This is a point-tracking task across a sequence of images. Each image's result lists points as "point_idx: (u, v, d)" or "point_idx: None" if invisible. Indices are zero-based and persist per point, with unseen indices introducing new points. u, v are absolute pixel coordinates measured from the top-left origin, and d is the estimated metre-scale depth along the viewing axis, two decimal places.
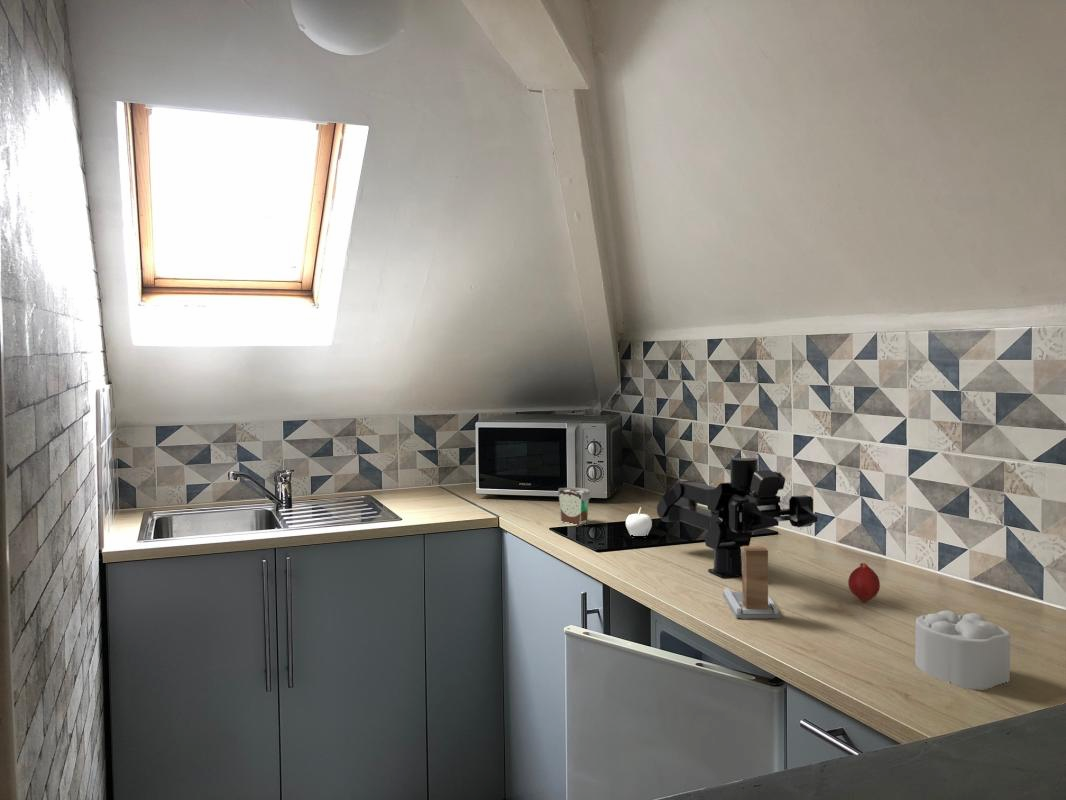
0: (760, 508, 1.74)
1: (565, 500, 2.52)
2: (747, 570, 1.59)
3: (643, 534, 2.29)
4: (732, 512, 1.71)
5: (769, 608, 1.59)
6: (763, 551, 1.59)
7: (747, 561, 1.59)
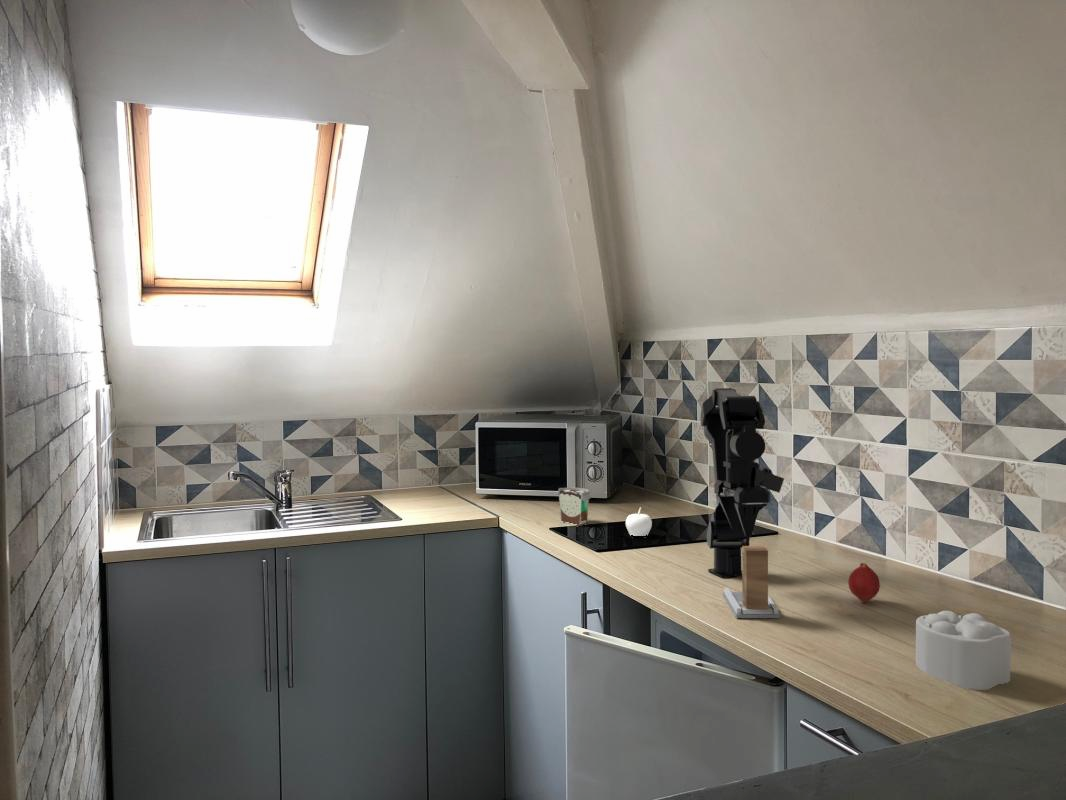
0: None
1: (565, 500, 2.52)
2: (747, 570, 1.59)
3: (643, 534, 2.29)
4: (760, 499, 1.65)
5: (769, 608, 1.59)
6: (763, 551, 1.59)
7: (747, 561, 1.59)
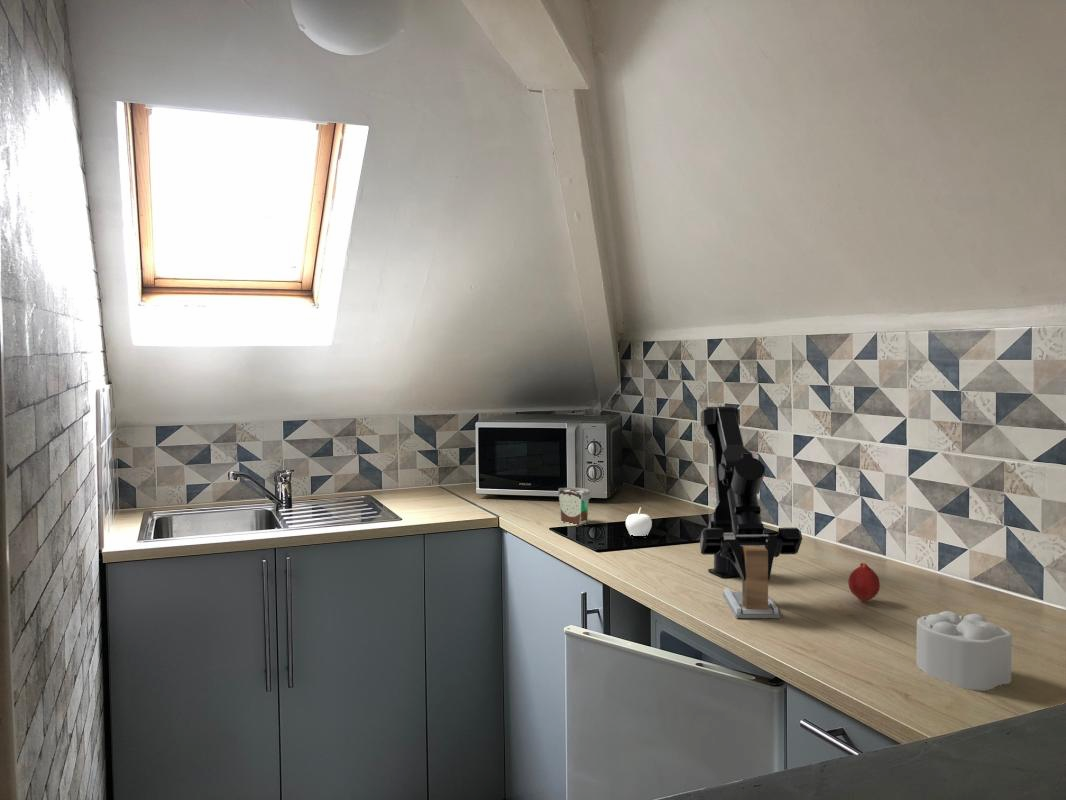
0: None
1: (565, 500, 2.52)
2: (747, 570, 1.59)
3: (643, 534, 2.29)
4: None
5: (769, 608, 1.59)
6: (763, 551, 1.59)
7: (747, 561, 1.59)
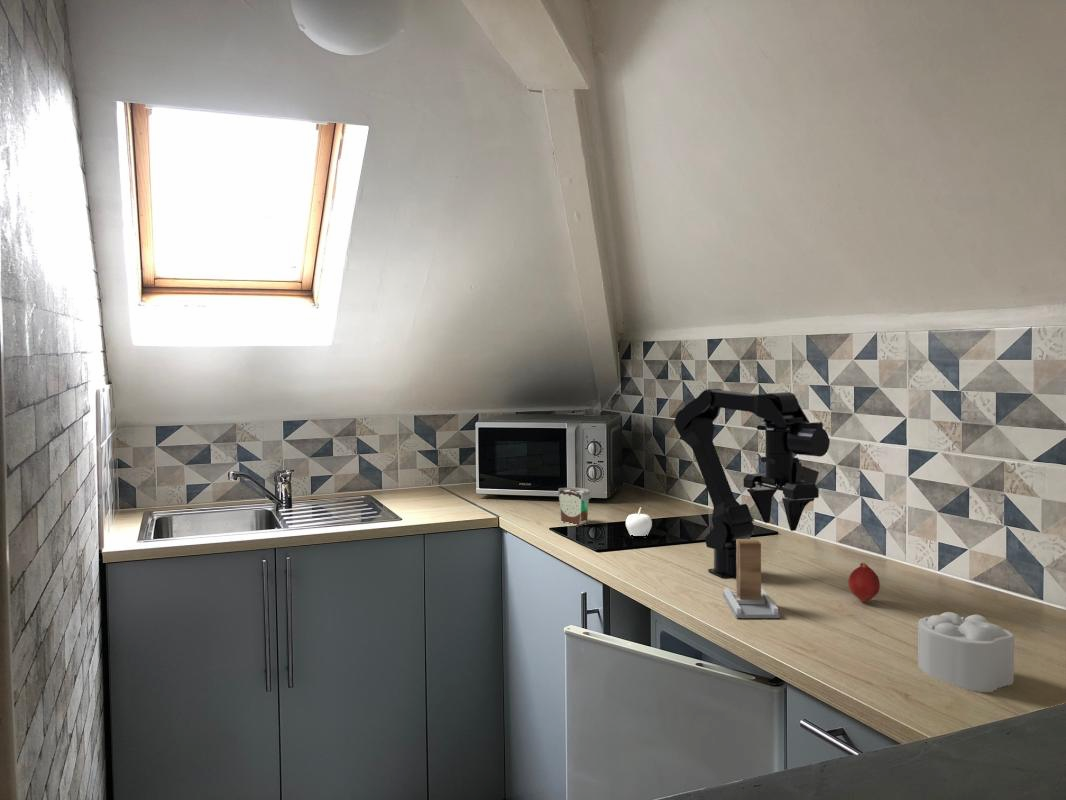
0: None
1: (565, 500, 2.52)
2: (741, 562, 1.65)
3: (643, 534, 2.29)
4: (811, 494, 1.70)
5: (762, 599, 1.65)
6: (756, 544, 1.65)
7: (741, 553, 1.65)
